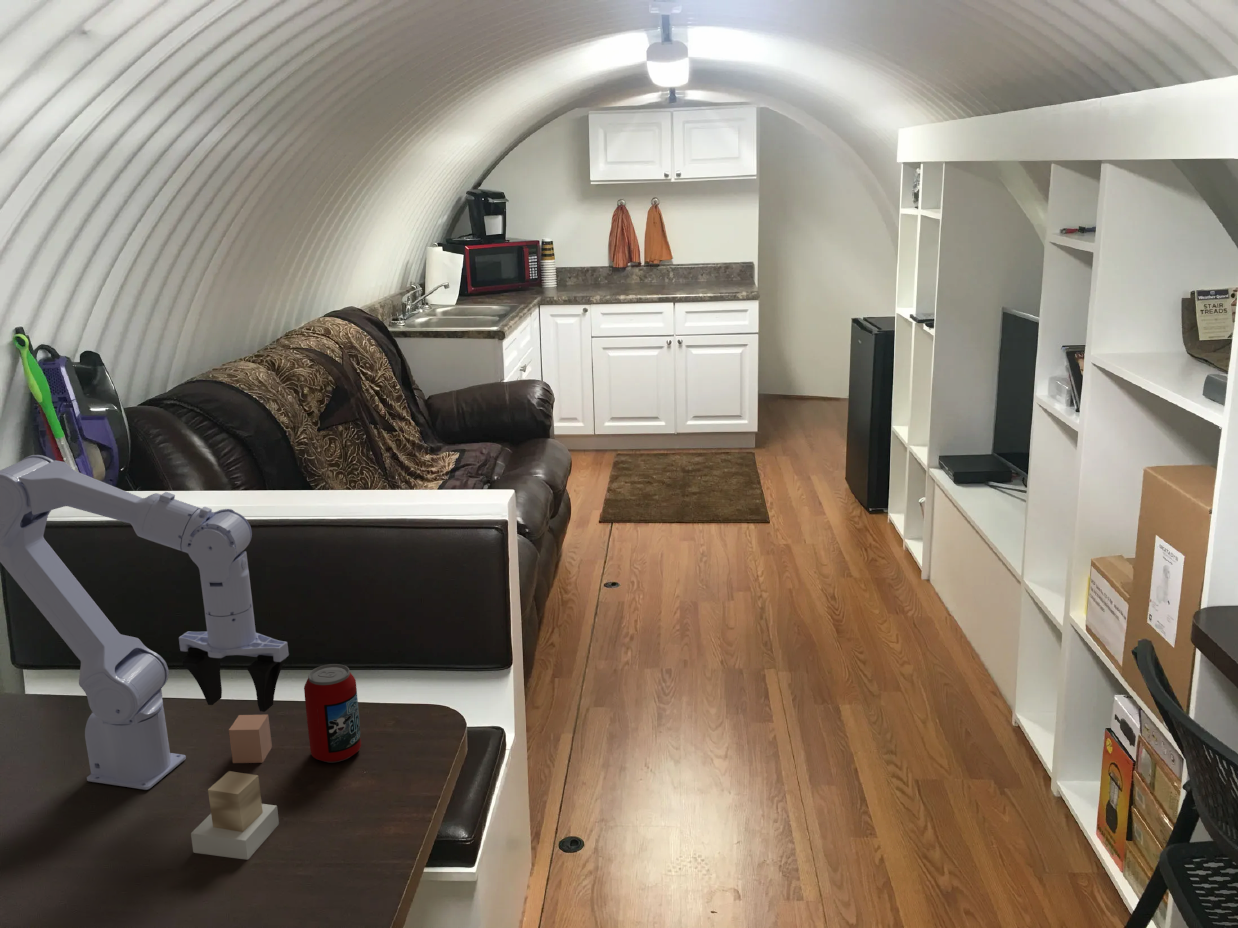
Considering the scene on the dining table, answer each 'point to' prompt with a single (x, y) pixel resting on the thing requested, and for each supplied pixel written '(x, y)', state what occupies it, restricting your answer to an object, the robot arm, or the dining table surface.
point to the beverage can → (332, 713)
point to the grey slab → (235, 836)
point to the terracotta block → (250, 738)
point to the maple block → (235, 801)
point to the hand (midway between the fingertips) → (240, 704)
